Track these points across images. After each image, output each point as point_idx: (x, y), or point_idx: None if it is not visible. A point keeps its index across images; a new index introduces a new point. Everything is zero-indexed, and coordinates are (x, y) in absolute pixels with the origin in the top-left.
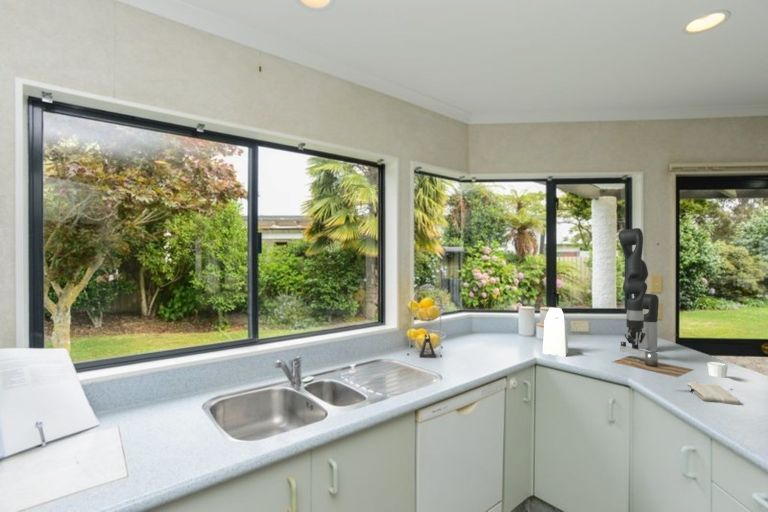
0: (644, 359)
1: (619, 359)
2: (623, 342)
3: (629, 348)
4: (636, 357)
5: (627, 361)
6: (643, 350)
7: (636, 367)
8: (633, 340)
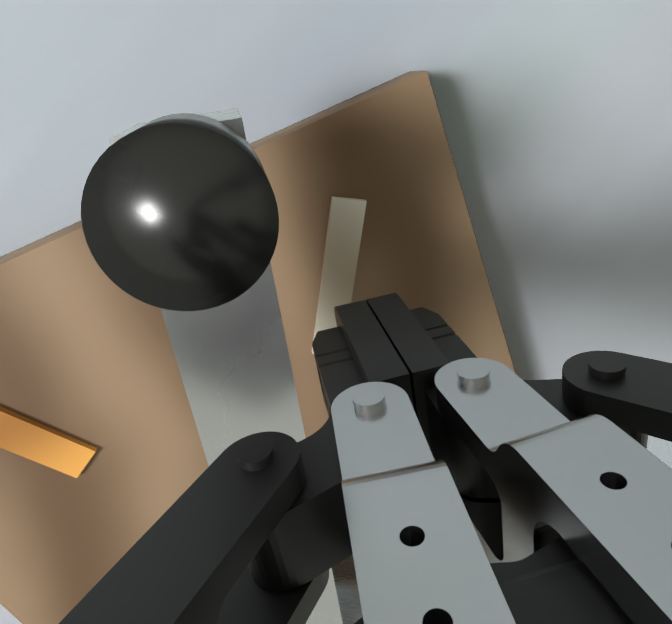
0: (462, 309)
1: (28, 259)
2: (133, 290)
3: (195, 414)
4: (446, 187)
5: (98, 378)
6: (329, 613)
7: (29, 615)
8: (472, 432)
